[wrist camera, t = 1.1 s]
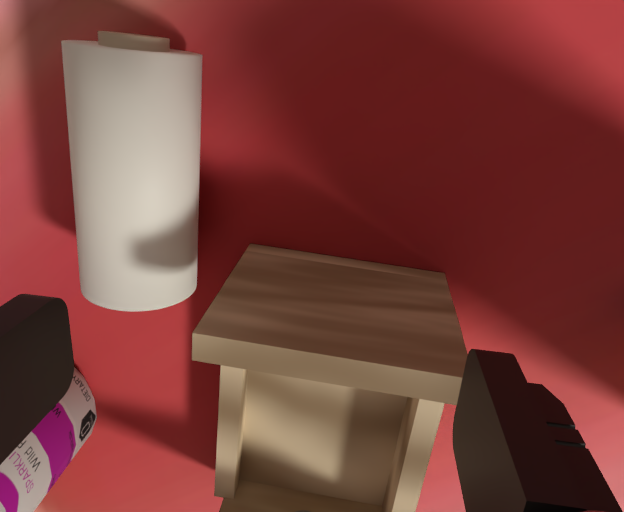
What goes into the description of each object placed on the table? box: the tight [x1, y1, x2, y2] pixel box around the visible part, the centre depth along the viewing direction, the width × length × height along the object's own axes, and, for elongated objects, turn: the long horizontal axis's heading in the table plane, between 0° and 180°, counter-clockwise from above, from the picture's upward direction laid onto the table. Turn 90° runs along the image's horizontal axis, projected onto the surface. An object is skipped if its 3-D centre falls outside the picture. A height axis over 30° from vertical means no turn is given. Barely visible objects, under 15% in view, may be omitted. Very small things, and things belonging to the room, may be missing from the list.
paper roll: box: [61, 31, 202, 311], centre depth 23 cm, size 12×6×6 cm, turn 173°
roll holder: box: [192, 244, 468, 512], centre depth 26 cm, size 17×11×9 cm
